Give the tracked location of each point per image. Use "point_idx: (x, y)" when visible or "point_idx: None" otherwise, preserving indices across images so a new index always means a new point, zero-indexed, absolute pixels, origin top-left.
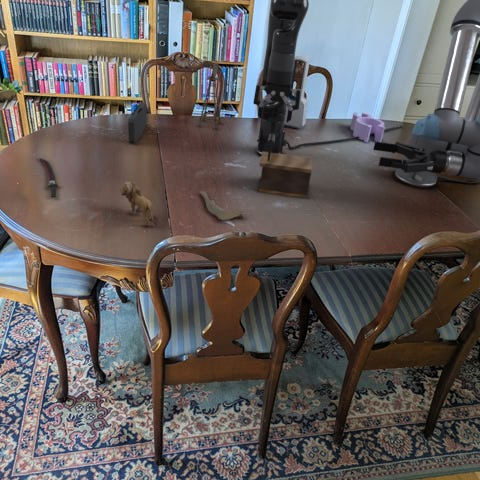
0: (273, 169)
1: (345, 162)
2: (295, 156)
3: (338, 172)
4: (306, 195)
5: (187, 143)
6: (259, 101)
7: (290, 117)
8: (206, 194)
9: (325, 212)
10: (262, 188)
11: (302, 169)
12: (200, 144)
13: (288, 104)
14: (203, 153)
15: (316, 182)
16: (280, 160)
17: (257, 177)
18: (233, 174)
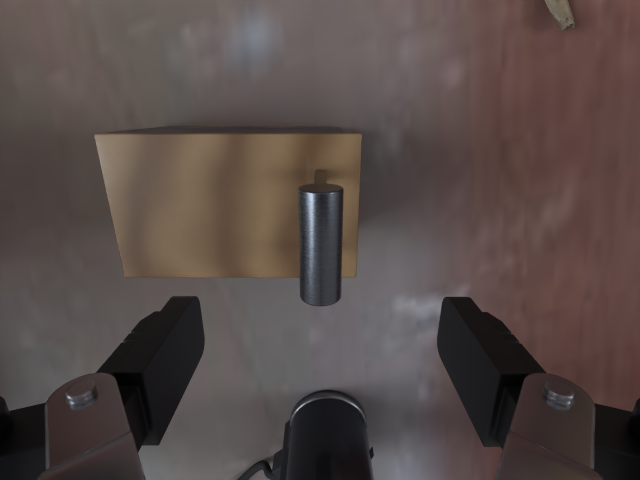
0: (290, 132)
1: None
2: (198, 269)
3: (92, 354)
4: (159, 127)
5: None
6: (605, 472)
7: (140, 333)
8: (549, 2)
9: (73, 22)
10: (328, 127)
11: (143, 133)
12: None
13: (85, 456)
14: (539, 359)
15: None
16: (262, 198)
17: None
18: (436, 237)
